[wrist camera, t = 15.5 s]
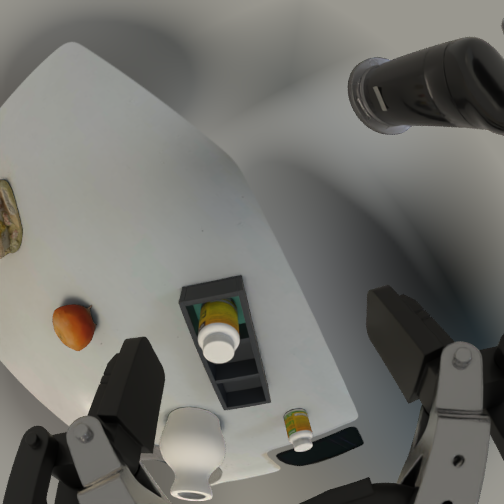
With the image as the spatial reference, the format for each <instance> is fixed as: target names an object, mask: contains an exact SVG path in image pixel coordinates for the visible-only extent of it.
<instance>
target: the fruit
mask: <svg viewBox="0 0 504 504" xmlns="http://www.w3.org/2000/svg"><path fill="white" fill-rule="evenodd" d="M91 307H92V305H91V306H90V307H89V308H85V307H83V306H80V305H76V304H72V305H65V306H62V307H59V308H57V309H56V310H55V311H54V314H53V326H54V330H55V332H56V334H57V336H58V337H59V338H60V340H61V341H62V342H63V343H64V344H65V345H66V346H68V347H69V348H71V349H74V350H76V351H80V350H82V349H83V348H85V347H86V346H87V345H88V344H89V343H90V341H91V340H92V337H93V334H94V331H95V328H96V325H97V324H94V322H93V320H92V317H91V313H90V308H91Z"/></svg>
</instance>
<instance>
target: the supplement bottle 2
mask: <svg viewBox="0 0 504 504" xmlns="http://www.w3.org/2000/svg"><path fill="white" fill-rule="evenodd" d="M284 421H285V426H286V430H287V435H288V439H289V442H290V443H292V444H293V446H294V450H295V451H297V452H302V451H306V450H309V449H310V448H312V446H313V445H312V441H311V439H312V437H313V433H312V430H311V426H310V423H309V419H308V416H307V413H306V411H305V410H303V409H294V410H291V411H289V412H287V413H286V414H285V416H284Z"/></svg>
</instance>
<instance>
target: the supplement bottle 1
mask: <svg viewBox="0 0 504 504" xmlns="http://www.w3.org/2000/svg"><path fill="white" fill-rule="evenodd" d="M239 342H240V336H239V325H238V314H237V307H236V304H235V302H234V301H233V300H232V299H231V298H226V299H221V300H216V301H211V302H205V303H202V306H201V311H200V320H199V330H198V344H199V346H200V347H201V349H202V350H203V355H204V357H205V358H206V359H207V360H208V361H210V362H213V363H225V362H228V361H229V360H231V359H232V358H233V356H234V351H235V350H236V349H237V347H238V346H239Z"/></svg>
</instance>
